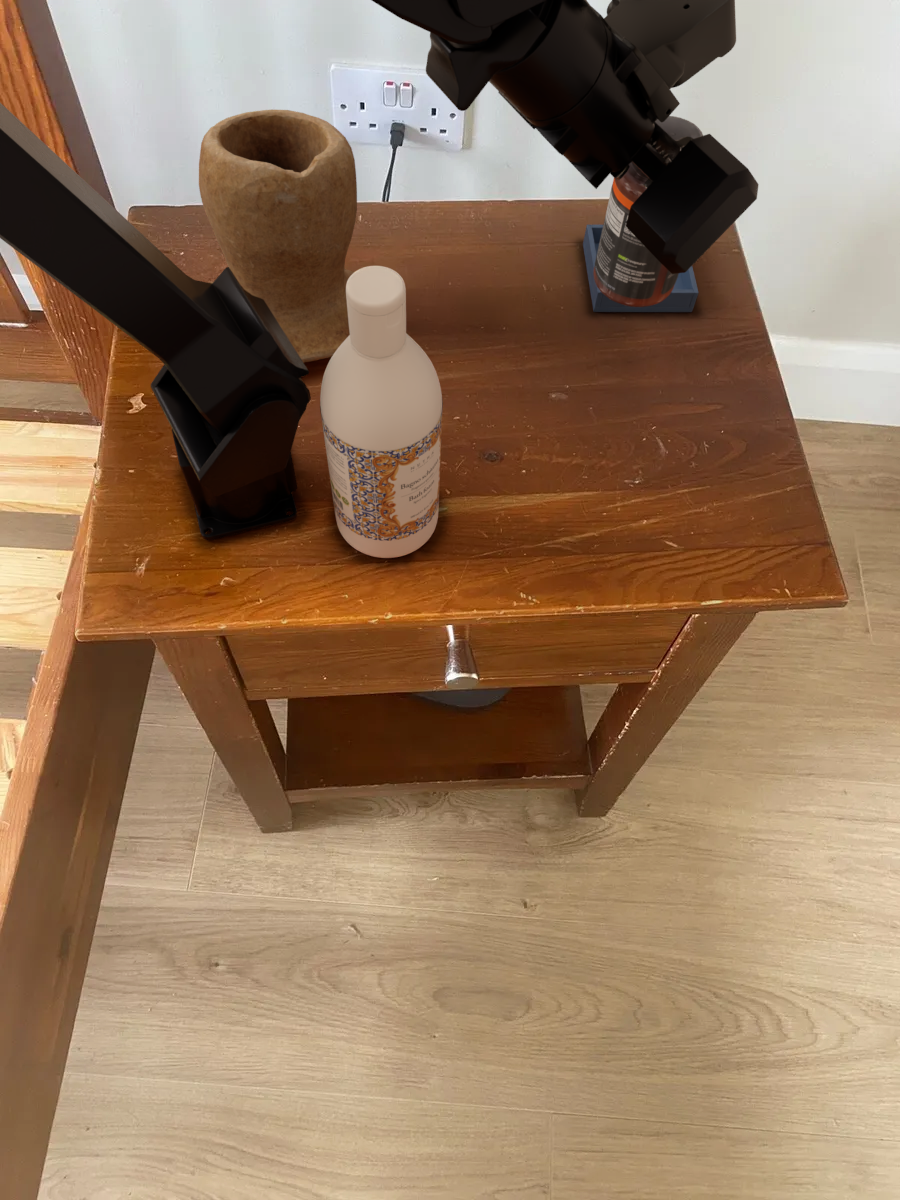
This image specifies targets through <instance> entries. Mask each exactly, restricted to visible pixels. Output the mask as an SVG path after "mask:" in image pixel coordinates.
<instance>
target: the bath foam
mask: <svg viewBox="0 0 900 1200" xmlns="http://www.w3.org/2000/svg"><path fill="white" fill-rule="evenodd" d="M353 272H354V273H353V274H352V275H351V276H350V277H349V279H348V281H347V284H346V299H347V311H348V322H349V332H350V335H349V336H348V337H347V338H346V339H345V341H344V342H343V343H342V344H341V345H340V346H339V348H338V349H337V350H336V351H335V353H334V354H333V356H332V357H330V359H329V361H328V363H327V365H326V368H325V370H324V373H323V376H322V381H321V387H320V396H319V411H320V417H321V424H322V432H323V439H324V446H325V453H326V460H327V467H328V468H327V469H328V475H329V480H330V489H331V495H332V496H331V497H332V502H333V508H334V515H335V520H336V525H337V528H338V531H339V533H340V535H341V537H343V539H344V540H345V541H346V543H347V544H348V545H350V546H351V547H352V548H354V549H355V550H356V551H358V552H360V553H362V554H364V555H367V556H369V557H370V556H371V557H374V558H381V559H392V558H393V559H394V558H398V557H403V556H406V555H409V554H411V553H413V552H415V551H417V550H419V549H420V548H421V547H422V546H424V545H425V544H426V543H427V542H428V541H429V540H430V538H431V537H432V536H433V533H434V532H435V530H436V527H437V524H438V519H439V505H440V487H441V486H440V485H441V483H440V482H441V463H442V461H441V459H442V435H443V432H442V431H443V408H444V407H443V405H444V403H443V395H442V394H443V393H442V387H441V384H440V380H439V375H438V373H437V371H436V368H435V366H434V363H433V362H432V361H431V359H430V357H429V355H427V353H426V352H425V350H424V349H423V348H422V346H420V345H419V344H418V343H417V342H416V341H415V339H413V338H412V337H411V336H410V335H409V334H408V333H407V289H406V283H405V280H404V279H403V277H402V276H401V274H400V273H398V272H397V271H396V270H394V269H392V268H390V267H387V266H383V265H368V266H364V267H360V268H359V269H357V270H355V271H353Z"/></svg>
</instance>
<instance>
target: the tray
mask: <svg viewBox="0 0 900 1200" xmlns="http://www.w3.org/2000/svg"><path fill="white" fill-rule="evenodd" d="M585 226H586V227H585V230H584V231H585V232H584V237H583V242H582V248H583V254H584V259H585V266H586V273H587V279H588V285H589V292H590V298H591V304H592V305H591V306H592V310H593V312H594V313H692V312H693V310H694V307H695V305H696V301H697V299H698V297H699V288H698V285H697V281H696V276H695V272H694V268H693V265H692V266H691V267H690V268H689V269H688V270H687V271H686V272H685V273H679V274H678V278H677V280H676V283H675V285H674V288H673V290H672V292H671V293H670V295H669V296H668V297H667V298H666V299H664V300H663V301H662V302H660V303H657V304H655V305H652V306H645V307H630V306H626V305H622V304H619V303H617V302H614V301H612V300H611V299H609V298H608V297H606V296H605V295H604V294H603V293H602V292H600V290H599V288H598V287H597V285H596V283H595V280H594V267H595V260H596V256H597V251H598V247H599V243H600V238H601V233H602V229H603V224H586V225H585Z"/></svg>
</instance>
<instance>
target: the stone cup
mask: <svg viewBox="0 0 900 1200" xmlns="http://www.w3.org/2000/svg"><path fill="white" fill-rule="evenodd" d="M198 189H199V195H200V199H201V203H202V206H203V210H204V212H205V215H206V217H207V220H208V222H209V224H210V225H209V226H210V227H211V230H212V232H213V234H214V237H215V239H216V242H217V244H218V246H219V248H220V250H221V252H222V254H223V257H224V259H225V262H226V266H227V267H229V268H230V269H231V271H232V272H233V274H234V276H235V277H236V279H237V280H238V282H239V283H240V285H241V286H242V287H243V288H244V290H246V291H247V292H249V293H250V294H251V295H253V296H256V297H259V298H261V299H264V301H265V303H266V304H267V306H268V307H269V309H270V310H271V312H272V314H273V315H274V317H275V318H276V320H277V322H278V323H279V325H280V326H281V328H282V329H283V331H284V333H285V334H286V336H287V337H288V339H289V341H290V342H291V344H292V345H293V347H294V348H295V350H296V352H297V353H298V355H299V356H300V358H301V359H302V361H303V363H304V364H305V363H310V362H314V361H318V360H324V359H329V358H331V357H332V356H333V354H334V353H335V351H336V350H337V349H338V348H339V346H340V345H341V344H342V343H343V342H344V341H345V339H346V338H347V337H348V336H349V335H350V332H349V322H348V311H347V299H346V284H347V281H348V279H349V277H350V276H351V275H352V274H353V273H354V272H355V271H353V270H351V269H346V268H345V263H346V258H347V254H348V250H349V247H350V245H351V241H352V237H353V234H354V229H355V226H356V225H355V224H356V220H357V212H358V183H357V169H356V161H355V155H354V152H353V148H352V147H351V145H350V142H349V141H348V139H347V138H346V136H345V135H344V134H343V133H342V132H341V131H340V130H339V129H337V127H335V126H334V125H333V124H331V123H330V122H328V121H327V120H325V119H322V118H320V117H317V116H314V115H310V114H308V113H304V112H300V111H295V110H290V109H261V110H255V111H247V112H246V111H245V112H242V113H239V114H235V115H232V116H229V117H226V118H224V119H222V120H220V121H218V122H217V123H215V124H214V125H213V126H211V127H210V128H209V129H208V130H207V132H206V133H205V134H204V136H203V138H202V141H201V143H200V153H199V159H198ZM213 282H214V281H211V282H209V283H213Z"/></svg>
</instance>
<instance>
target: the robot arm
mask: <svg viewBox="0 0 900 1200" xmlns="http://www.w3.org/2000/svg"><path fill="white" fill-rule="evenodd" d="M371 2H373V3H375V4H377V5H378V6H380V7H381V8H383V9H384V10H386V11H388V12H389V13H391V14H392V15H394V16H395V17H397V18H399V19H401V20H403V21H405V22H407V23H409V24H411V25H413V26H416V27H418V28H420V29H422V30H424V31H427V32H428V33H429V39H430V48H429V50H428V53H427V57H426V58H427V59H426V66H425V73H426V75H427V76H428V77H429V79H430V80H431V81H432V82H433V83H434V85H436V87H437V88H438V89H439V90H440V91H441V92H442V93H443V94H444V96H446V98H447V99H448V100H449V101H450V102H451V103H452V104H453V105H454V106H455V108H456V109H457V110H458V111H462V112H464V111H467V110H468V109H469V108H470V107H471V106H472V105H473V103H474V101H475V100H476V99H477V97H478V96H479V95H481V92H482V91H483V90H484V89H485V87H486V86H487V85H488V83H489V84H491V86H492V87H494V88H495V89H496V90H497V91H498V94H499V95H500V96H501V97H502V98H503V99H504V100H505V101H506V102H507V103H508V105H510V107H511V108H512V109H513V110H515V112H516V113H517V114H518V115H519V116H520V117H521V118H522V119H523V120H524V122H526V124H527V125H529V126H530V127H531V128H532V129H533V130H536V131H538V133H539V134H540V135H541V136H542V137H543V138H544V139H545V140H546V141H547V142H548V143H549V144H550V145H551V147H552V148H554V150H555V151H556V152H557V153H558V154H559V155H561V156H563V157H564V159H566V160H567V161H568V162H569V163H570V164H571V165H572V166H573V167H574V168H575V169H576V170H577V171H578V172H579V174H581V176H583V178H585V180H586V181H587V182H588V183H589V184H591V186H592V187H594V189H595V190H597V189H598V188H599V187H600V185H602V183H603V182H604V181H605V180H606V179H607V178H608V176H610V175H611V176H612V178H613V179H614V178H615V179H616V180H620V179H621V178H622V177H623V176H624V175H625V174H626V173H627V171H628V170H629V168H630V166H629V164H630V163H631V162H633V163H634V164H635V165H636V166H637V167H638V168H639V169H640V170H641V171H642V172H643V173H644V174H645V175H646V176H647V177H648V178H649V179H648V180H647V181H646V182H645V183H644V184H643V186H644V187H645V188H646V190H645V191H644V192H643V193H642V194H641V195H640V197H639V198H638V199H637V200H636V201H635V202H634V203H633V204H632V205H631V207H630V211H629V215H628V219H627V221H626V227H627V228H628V229H629V230H630V231H631V232H632V233H633V234H634V235H635V237H636V238H637V239H638V240H639V241H640V242H641V243H642V244H643V245H644V246H645V247H646V248H647V249H648V250H649V251H650V252H651V253H652V254H653V255H654V256H655V258H656V259H657V260H658V261H659V262H660V263H661V264H662V265H663V266H664V267H665V268H666V269H668V270H669V271H670V272H671V273H672V274H677V273H685V272H686V271H687V270H688V269H689V268H690V267H691V266H692V267H693V266H694V265H695V263H697V262H698V260H699V259H700V258H701V257H702V256H703V255H704V254H705V253H706V252H707V251H708V250H709V249H710V247H712V246H713V245H714V244H715V243H716V242H717V241H718V240H719V238H720V237H722V236H723V235H724V233H726V231H727V230H729V228H730V227H731V226H732V225H733V224H735V222H736V221H737V220H738V219H739V218H740V217H741V216H742V215H743V214H744V212H746V211H747V209H749V208H750V207H751V205H753V203H754V202H755V201H756V200H757V199H758V193H759V183H758V181H757V179H756V178H755V177H754V175H753V173H752V172H751V171H750V170H749V169H750V168H748V167H747V166H746V165H745V164H744V163H742V162H741V160H739V159H738V158H737V157H736V156H735V155H733V153H732V152H731V151H729V150H728V149H727V148H726V147H725V146H724V145H723V144H722V143H721V142H719V140H718V139H716V137H714V136H713V135H712V134H711V133H707V134H703V136H701V137H698V138H695V139H693V138H692V137H688V136H686V137H683V138H681V139H679V140H674V139H673V138H672V137H671V136H670V135H669V134H667V133H666V132H665V131H664V130H663V129H662V128H661V127H660V126H659V125H658V124H657V123H656V122H655V121H656V120H657V119H658V120H659V121H660V122H664V121H665V120H666V119H667V118H668V117H669V116H671V115H672V113H673V112H674V111H675V110H676V109H677V108H678V106H679V105H681V103H680V102H679V100H678V98H677V97H676V96H675V94H674V93H673V91H672V90H671V89H674V88H677V87H679V86H682V85H683V84H685V83H686V82H688V80H690V79H692V78H693V77H694V76H695V75H697V74H698V73H699V72H700V71H702V70H703V69H705V68H706V67H707V66H709V65H710V64H711V63H713V62H714V61H715V60H716V59H718V58H723V57H724V56H726V55H727V54H728V53H730V52H731V51H732V50H733V48H734V47H735V45H736V43H737V23H736V22H737V21H736V19H737V18H736V0H611V1H610V2H609V4H608V6H607V8H606V16H605V17H604V16H603V15H601V14H600V13H599V12H598V11H597V10H596V9H595V8H594V7H593V6H592V5H591V4H590V2H588V0H371ZM647 143H648V144H649V145H651V146H652V148H654V149H655V150H656V151H657V152H658V153H659V154H660V155H661V156H662V157H663V158H664V159H665V161H664V162H663V163H662V162H661V161H660V160H659V159H658V158H657V157H656V156H655V155H654V154H653V153H652V152H651V151H650V150H649V149H648V148H647V147H646V145H647ZM670 157H671V159H672V161H671V160H670V159H669V158H670ZM0 240H2V242H4V243H6V244H7V245H9V246H10V248H12V249H14V250H15V251H17V252H18V253H19V254H20V255H21V256H23V257H24V258H25V259H27V260H28V261H29V262H31V263H32V264H34V265H35V266H37V268H39V269H40V270H42V272H44V273H45V274H46V275H48V276H49V277H50V278H52V279H53V280H55V281H56V282H57V283H59V285H61V286H63V287H64V288H65V289H66V290H68V291H69V292H70V293H71V294H73V295H75V296H76V297H77V298H78V299H79V300H81V301H82V302H84V303H85V304H86V305H88V306H89V307H90V308H91V309H93V310H94V311H95V312H97V313H98V314H99V315H101V316H102V317H103V318H104V319H106V320H108V322H110V323H111V324H112V325H114V326H115V327H117V328H118V329H119V330H120V331H122V332H123V333H125V334H126V335H127V336H128V337H130V338H131V339H133V340H134V341H135V342H136V343H138V344H139V345H140V346H142V347H143V348H144V349H146V350H147V351H148V352H150V353H151V354H152V355H154V356H155V357H156V358H157V359H159V360H160V361H161V363H162V364H163V366H162V367H161V368H160V370H159V371H158V373H157V374H156V375H155V378H154V379H153V380H152V381H151V383H150V389H151V390H152V393H153V394H154V396H155V398H156V400H157V402H158V404H159V406H160V408H161V410H162V411H163V414H164V416H165V418H166V420H167V421H168V423H169V426H170V428H171V432H172V437H173V442H174V446H175V452H176V456H177V461H178V465H179V467H180V469H181V472H182V475H183V478H184V481H185V483H186V486H187V488H188V491H189V493H190V497H191V499H192V502H193V505H194V511H195V515H196V519H197V522H198V523H197V524H198V528H199V532H200V535H201V537H202V539H203V540H205V541H214V540H218V539H222V538H226V537H229V536H234V535H239V534H242V533H243V534H244V533H246V532H250V531H255V530H258V529H259V530H260V529H264V528H267V527H272V526H276V525H280V524H283V523H288V522H292V521H294V520H296V519H297V518H298V516H299V515H298V508H297V505H296V502H295V498H294V495H293V493H295V492H297V491H298V489H299V487H298V485H299V484H298V480H297V476H296V471H295V466H294V461H293V455H292V448H293V445H294V441H295V437H296V434H297V430H298V427H299V423H300V420H301V419H302V417H303V415H304V414H305V412H306V411H307V407H308V404H309V403H310V401H311V399H312V398H311V397H312V396H311V392H310V390H309V388H308V386H307V385H306V383H305V382H304V380H303V377H306V376H308V375H309V374H310V370H309V369H308V367H307V366H306V364H305V362H304V363H303V361H302V359H301V358H300V356H299V355H298V353H297V352H296V350H295V348H294V347H293V345H292V344H291V342H290V341H289V339H288V337H287V336H286V334H285V333H284V331H283V329H282V328H281V326H280V325H279V323H278V322H277V320H276V318H275V317H274V315H273V314H272V312H271V310H270V309H269V307H268V306H267V304H266V303H265V301H264V299H261V298H259V297H256V296H253V295H251V294H250V293H249V292H247V291H246V290H244V288H243V287H242V286H241V285H240V283H239V282H238V280H237V279H236V277H235V276H234V274H233V272H232V271H231V269H230V268H229V267H228V266H227V267H225V268H224V269H223V270H222V272H221V273H220V274H219V275H218V276H217V277H216V279H215V280H214V281H212V282H213V283H210V282H207V281H202V280H197V279H194V278H193V277H191V276H189V275H188V274H186V273H185V272H184V271H183V270H182V269H180V268H179V266H177V264H175V263H174V261H172V260H171V259H170V258H169V257H168V256H166V255H165V254H164V253H163V252H162V251H161V250H160V248H158V247H157V246H156V245H154V243H152V241H151V240H149V238H147V237H146V236H145V235H144V234H143V233H142V232H141V231H140V230H139V229H137V228H136V227H135V226H134V225H133V224H132V223H131V222H130V221H129V220H128V219H127V218H126V217H124V215H123V214H121V213H120V211H118V210H117V209H116V208H115V207H114V206H113V205H112V204H110V203H109V201H107V200H106V199H105V198H104V197H103V196H102V195H101V194H100V193H99V192H98V191H97V190H95V189H94V187H92V186H91V185H90V184H89V183H88V182H87V181H86V180H85V179H84V178H82V177H81V175H79V174H78V173H77V172H76V171H75V170H74V168H72V167H70V166H69V165H68V163H66V162H65V161H64V160H63V159H62V158H61V157H60V156H59V155H58V154H57V153H56V152H55V151H53V150H52V149H51V148H50V147H49V146H48V144H46V143H45V142H44V141H42V140H41V138H40V137H38V136H37V135H36V133H34V131H32V130H31V129H30V128H29V127H27V126H26V125H25V124H24V123H23V122H22V121H21V120H20V119H19V118H17V116H16V115H14V114H13V112H11V111H10V110H9V109H8V108H7V107H6V106H4V104H2V102H0ZM208 532H209V533H208Z"/></svg>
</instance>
